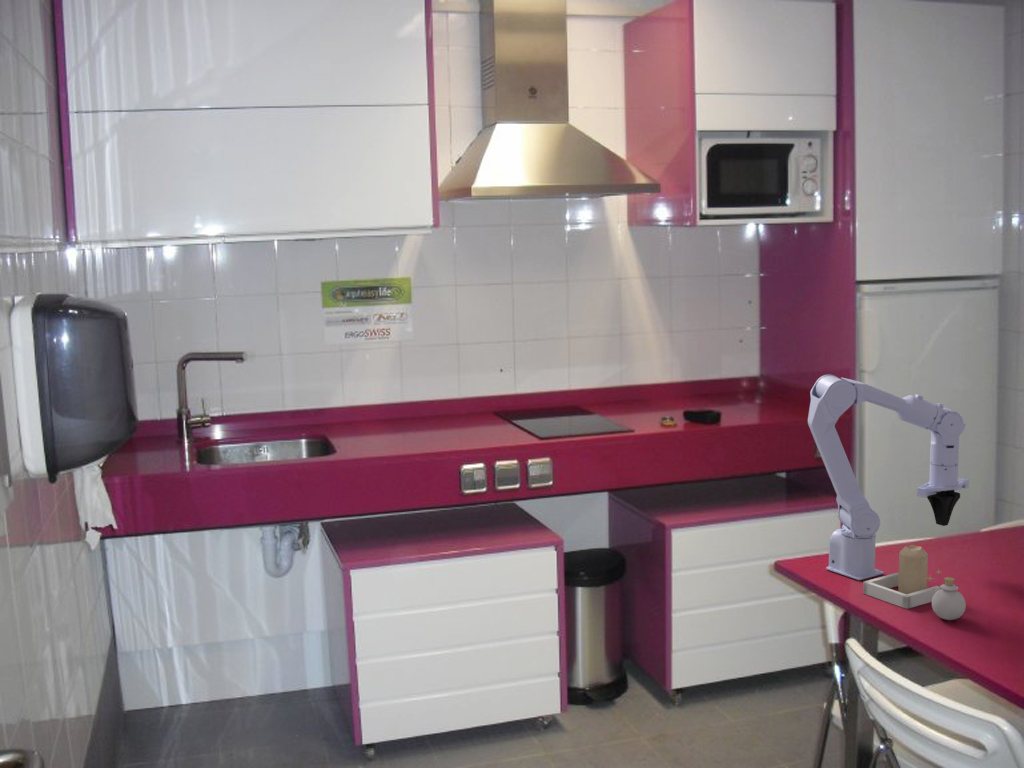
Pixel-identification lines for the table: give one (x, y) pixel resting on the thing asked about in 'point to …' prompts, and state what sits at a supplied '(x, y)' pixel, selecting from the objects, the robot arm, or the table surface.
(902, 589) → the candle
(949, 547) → the table surface
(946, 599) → the round potion bottle
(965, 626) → the table surface
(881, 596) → the box
